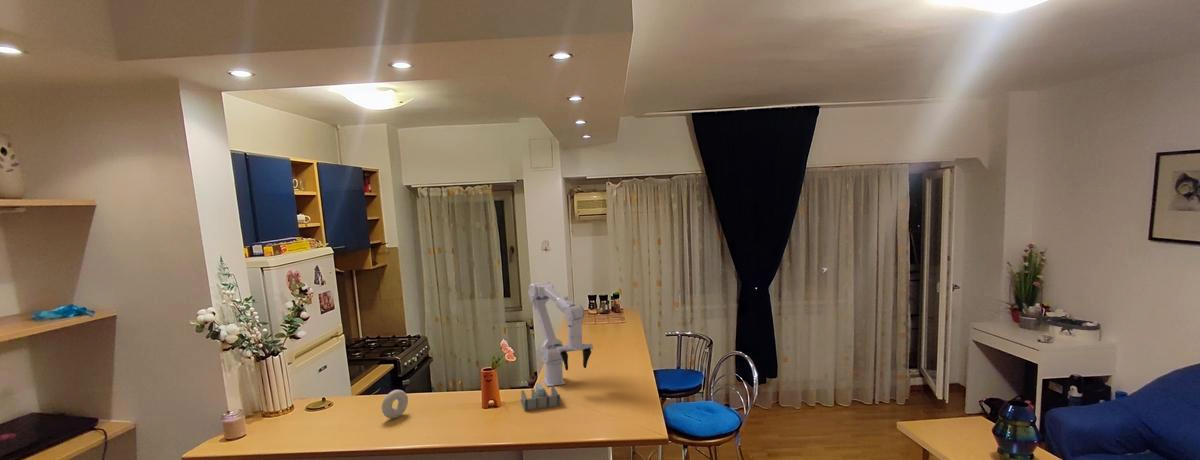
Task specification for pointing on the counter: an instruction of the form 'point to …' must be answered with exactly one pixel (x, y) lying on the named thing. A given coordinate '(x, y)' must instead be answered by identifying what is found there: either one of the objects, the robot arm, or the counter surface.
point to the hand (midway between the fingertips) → (575, 368)
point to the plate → (539, 390)
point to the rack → (540, 400)
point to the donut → (388, 402)
